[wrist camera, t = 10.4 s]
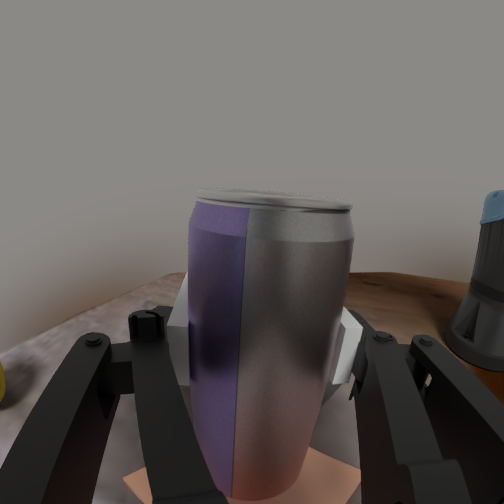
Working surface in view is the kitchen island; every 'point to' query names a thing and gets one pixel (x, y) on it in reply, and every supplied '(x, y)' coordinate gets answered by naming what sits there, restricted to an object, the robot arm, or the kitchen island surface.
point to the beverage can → (262, 329)
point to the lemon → (2, 383)
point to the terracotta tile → (299, 494)
